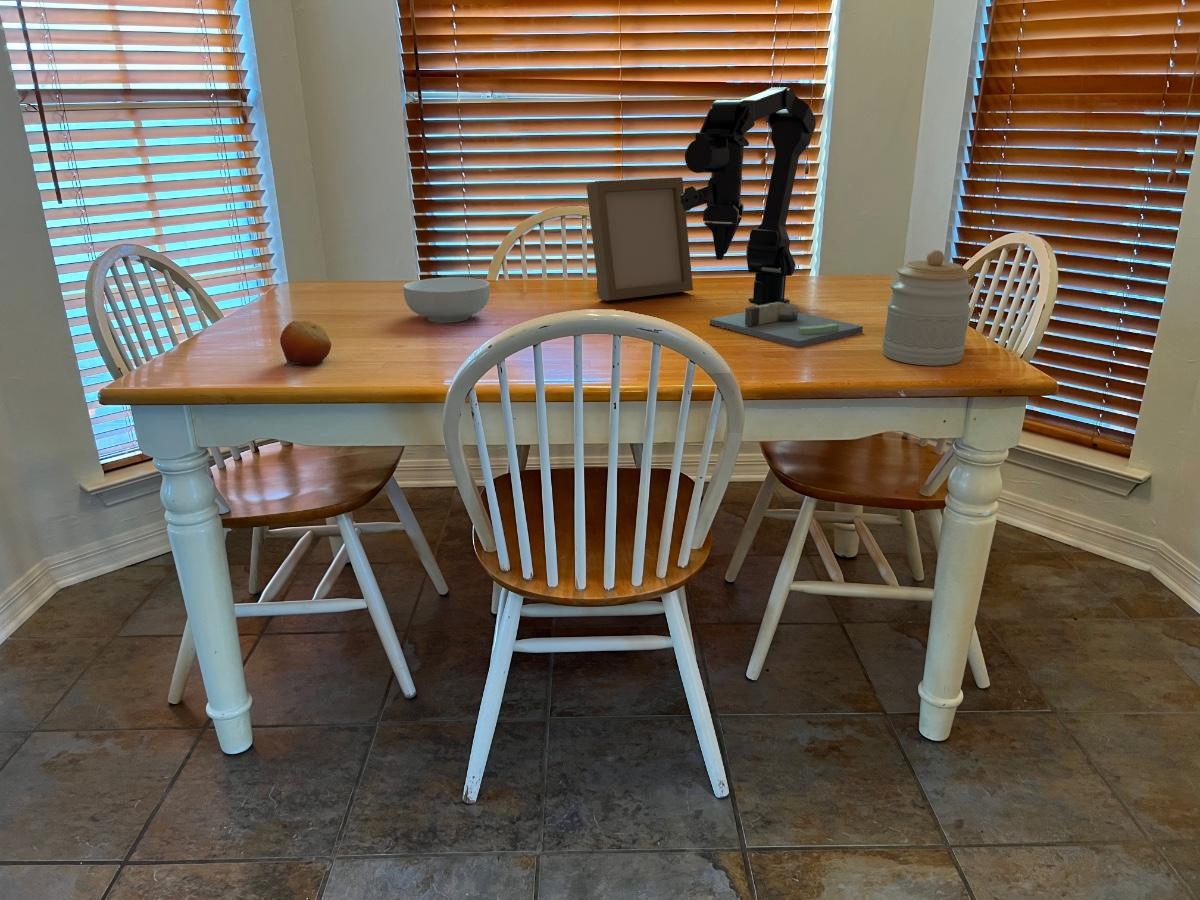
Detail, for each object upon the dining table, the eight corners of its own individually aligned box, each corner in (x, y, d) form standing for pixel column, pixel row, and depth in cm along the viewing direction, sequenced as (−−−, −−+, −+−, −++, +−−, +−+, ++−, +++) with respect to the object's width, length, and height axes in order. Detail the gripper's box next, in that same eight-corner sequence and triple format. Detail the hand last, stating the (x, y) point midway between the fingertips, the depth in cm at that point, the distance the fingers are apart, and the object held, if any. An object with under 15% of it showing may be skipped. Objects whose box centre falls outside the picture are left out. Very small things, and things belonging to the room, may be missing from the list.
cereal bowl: (506, 314, 177) (505, 279, 174) (461, 331, 162) (459, 294, 160) (437, 306, 183) (435, 273, 181) (388, 323, 169) (385, 287, 167)
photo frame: (692, 294, 194) (697, 178, 185) (609, 304, 184) (609, 182, 175) (657, 284, 206) (659, 174, 197) (576, 293, 196) (575, 178, 187)
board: (773, 312, 177) (773, 301, 176) (862, 332, 161) (863, 320, 160) (709, 324, 167) (710, 313, 166) (798, 347, 150) (799, 335, 150)
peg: (783, 314, 169) (784, 297, 168) (802, 318, 165) (804, 302, 164) (738, 323, 162) (739, 306, 161) (757, 328, 158) (759, 310, 157)
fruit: (277, 349, 145) (297, 308, 143) (321, 371, 147) (341, 331, 145) (264, 361, 138) (284, 319, 136) (310, 385, 140) (331, 343, 138)
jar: (980, 363, 141) (998, 254, 134) (911, 370, 138) (926, 258, 131) (930, 344, 153) (944, 242, 146) (866, 350, 149) (878, 246, 143)
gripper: (689, 169, 172) (685, 249, 177) (677, 172, 155) (673, 261, 160) (746, 170, 169) (740, 251, 175) (740, 174, 152) (733, 263, 158)
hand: (721, 256), depth 167 cm, fingers open, 9 cm apart
